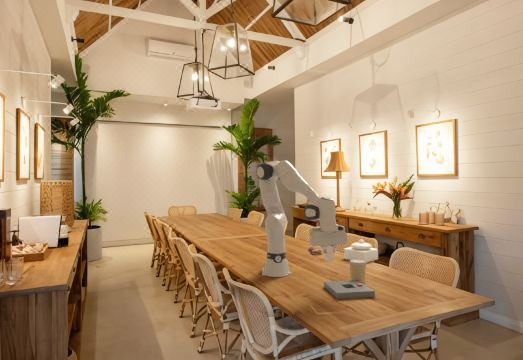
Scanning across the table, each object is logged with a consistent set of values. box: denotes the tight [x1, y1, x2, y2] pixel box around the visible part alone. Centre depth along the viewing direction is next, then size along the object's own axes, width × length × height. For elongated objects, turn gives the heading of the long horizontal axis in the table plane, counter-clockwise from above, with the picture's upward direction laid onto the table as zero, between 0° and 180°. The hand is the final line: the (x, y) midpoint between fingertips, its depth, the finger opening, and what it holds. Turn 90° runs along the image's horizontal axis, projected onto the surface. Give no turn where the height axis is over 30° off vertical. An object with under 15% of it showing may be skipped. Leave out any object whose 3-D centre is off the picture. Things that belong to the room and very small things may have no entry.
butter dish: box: [343, 238, 379, 264], centre depth 258 cm, size 18×18×16 cm
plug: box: [323, 245, 335, 262], centre depth 189 cm, size 7×4×8 cm, turn 8°
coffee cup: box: [349, 259, 367, 284], centre depth 204 cm, size 9×9×12 cm
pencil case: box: [308, 246, 323, 256], centre depth 281 cm, size 11×20×5 cm, turn 172°
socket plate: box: [323, 279, 376, 300], centre depth 185 cm, size 20×20×4 cm
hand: (328, 253), depth 187 cm, fingers closed on plug, 3 cm apart
